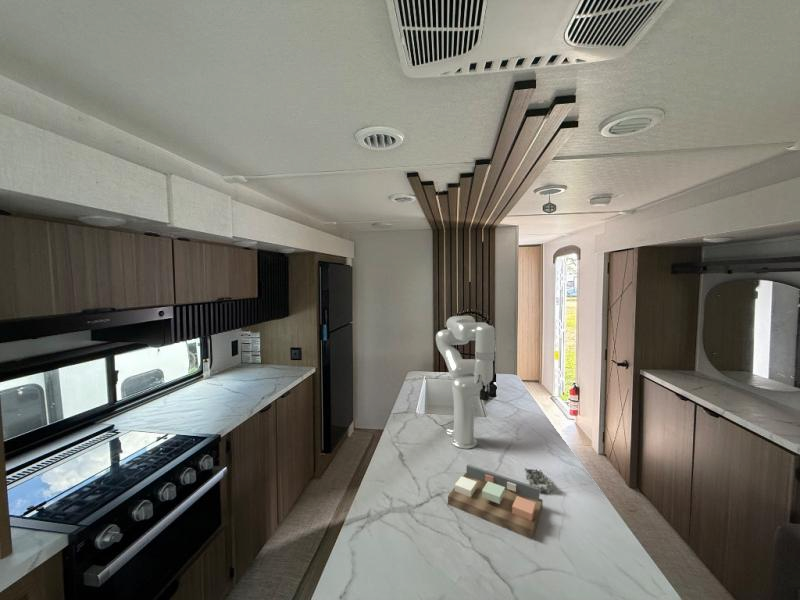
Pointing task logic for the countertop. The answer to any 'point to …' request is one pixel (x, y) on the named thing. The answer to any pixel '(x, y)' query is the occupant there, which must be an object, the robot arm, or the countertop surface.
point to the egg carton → (538, 480)
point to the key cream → (466, 486)
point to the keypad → (502, 511)
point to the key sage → (493, 492)
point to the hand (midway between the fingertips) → (484, 399)
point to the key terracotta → (524, 508)
